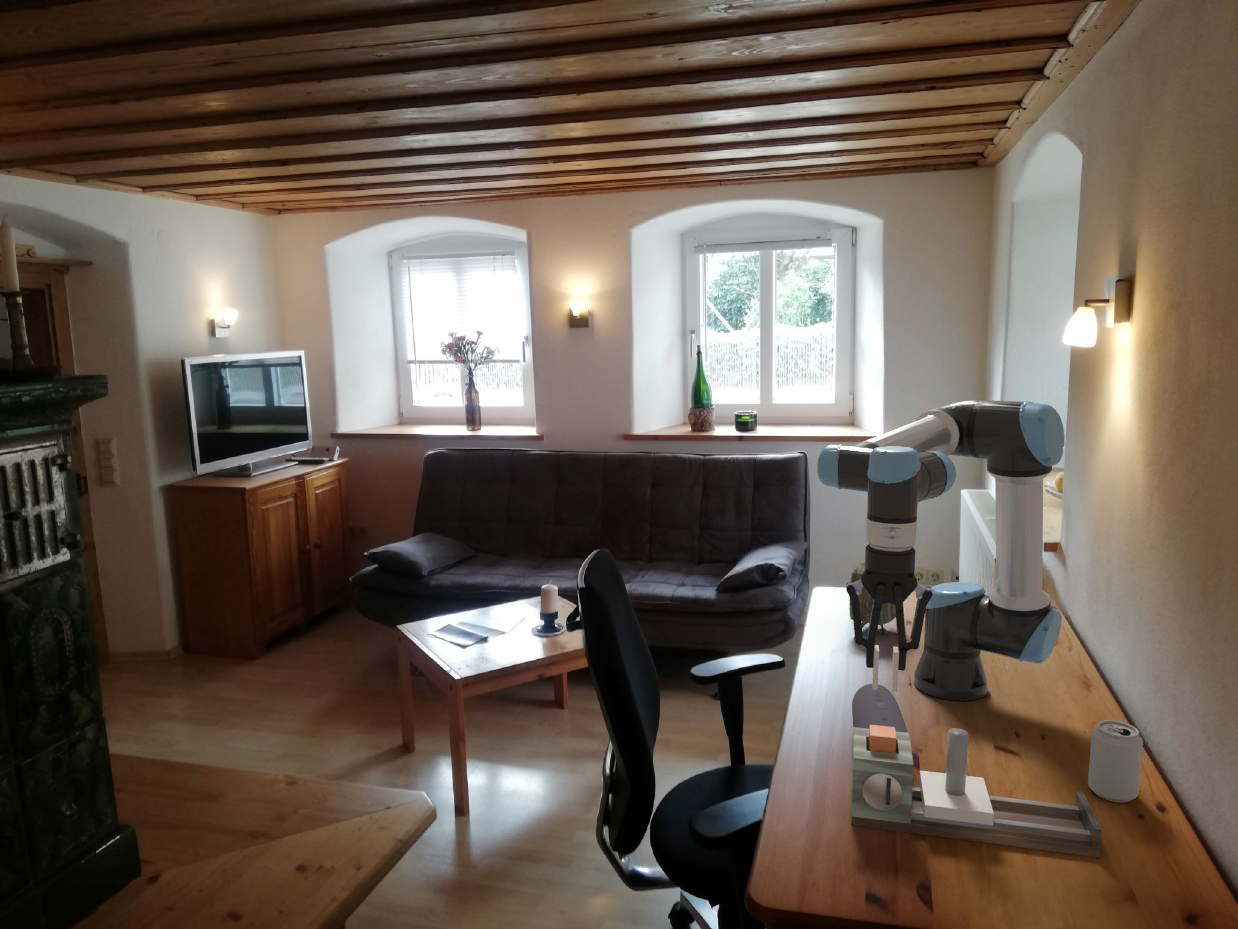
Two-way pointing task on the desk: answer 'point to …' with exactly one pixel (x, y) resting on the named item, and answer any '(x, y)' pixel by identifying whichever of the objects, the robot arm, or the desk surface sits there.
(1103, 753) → the can
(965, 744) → the carriage
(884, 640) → the desk surface
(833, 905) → the desk surface
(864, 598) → the tabletop clock
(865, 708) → the bluetooth speaker
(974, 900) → the desk surface
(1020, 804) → the rail bed
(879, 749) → the button
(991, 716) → the desk surface
